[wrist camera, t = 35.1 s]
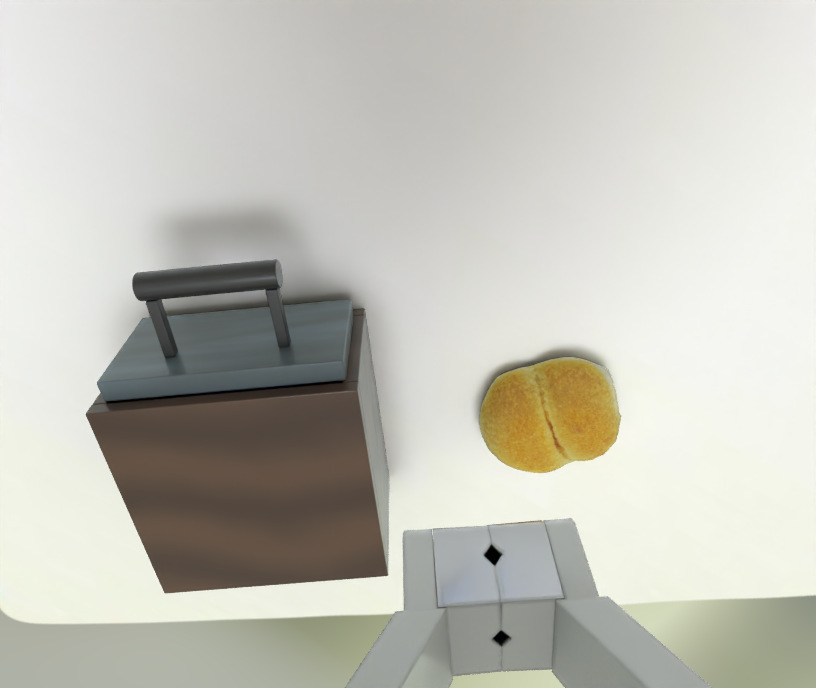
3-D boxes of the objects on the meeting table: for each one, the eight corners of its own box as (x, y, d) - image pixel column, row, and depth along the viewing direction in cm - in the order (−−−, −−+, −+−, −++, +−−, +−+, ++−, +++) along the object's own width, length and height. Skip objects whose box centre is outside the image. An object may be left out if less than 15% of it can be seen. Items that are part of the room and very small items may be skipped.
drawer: (116, 243, 35) (60, 298, 29) (339, 221, 35) (327, 273, 29) (198, 476, 44) (167, 555, 38) (376, 461, 44) (374, 538, 38)
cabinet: (143, 328, 39) (84, 414, 32) (364, 308, 38) (357, 390, 31) (201, 492, 46) (164, 593, 38) (389, 476, 45) (388, 576, 38)
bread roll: (462, 378, 41) (468, 415, 38) (599, 336, 40) (618, 371, 36) (497, 468, 45) (505, 510, 42) (622, 433, 44) (642, 473, 40)
